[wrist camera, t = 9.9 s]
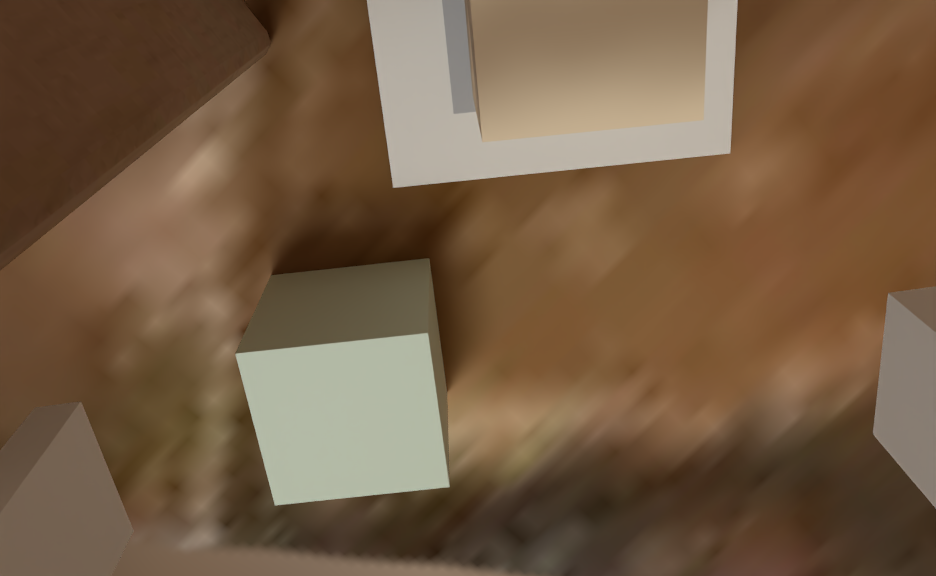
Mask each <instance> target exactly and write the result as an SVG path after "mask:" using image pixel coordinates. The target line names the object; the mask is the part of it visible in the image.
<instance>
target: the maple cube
mask: <svg viewBox="0 0 936 576" xmlns="http://www.w3.org/2000/svg"><path fill="white" fill-rule="evenodd" d="M464 2H465V13H466V24H467V36H468V47H469V58H470V70H471V81H472V92H473V100H474V104H475V109H476V114H477V119H478V124H479V129H480V133H481V138H482V142H491V141H501V140H511V139H521V138H531V137H541V136H551V135H561V134H571V133H581V132H591V131H601V130H611V129H621V128H631V127H641V126H651V125H661V124H671V123H681V122H691V121H701V120H704V97H705V69H706V40H707V12H708V0H464Z"/></svg>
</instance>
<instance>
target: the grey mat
mask: <svg viewBox="0 0 936 576" xmlns="http://www.w3.org/2000/svg"><path fill="white" fill-rule="evenodd" d="M737 2H738V0H708V12H707V40H706V69H705V97H704V120H701V121H691V122H681V123H671V124H661V125H651V126H641V127H631V128H621V129H611V130H601V131H591V132H581V133H571V134H561V135H551V136H541V137H531V138H521V139H511V140H501V141H491V142H482V138H481V133H480V129H479V124H478V119H477V114H476V109H475V104H474V100H473V92H472V81H471V70H470V58H469V47H468V36H467V24H466V13H465V2H464V0H367V5H368V12H369V19H370V26H371V33H372V40H373V47H374V55H375V62H376V69H377V76H378V83H379V90H380V97H381V104H382V111H383V118H384V125H385V132H386V140H387V147H388V154H389V161H390V168H391V175H392V182H393V188H396V187H406V186H416V185H426V184H435V183H445V182H455V181H464V180H474V179H484V178H494V177H503V176H513V175H523V174H533V173H542V172H552V171H562V170H572V169H581V168H591V167H601V166H611V165H620V164H630V163H640V162H650V161H659V160H669V159H679V158H689V157H698V156H708V155H718V154H728V153H730V148H731V128H732V107H733V86H734V65H735V44H736V23H737Z"/></svg>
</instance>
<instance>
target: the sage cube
mask: <svg viewBox="0 0 936 576" xmlns="http://www.w3.org/2000/svg"><path fill="white" fill-rule="evenodd" d="M235 354H236V358H237V362H238V366H239V369H240V373H241V377H242V381H243V385H244V389H245V392H246V396H247V400H248V404H249V408H250V412H251V415H252V419H253V423H254V427H255V431H256V434H257V438H258V442H259V446H260V450H261V454H262V457H263V461H264V465H265V469H266V473H267V477H268V480H269V484H270V488H271V492H272V496H273V499H274V503H275V505H283V504H292V503H302V502H311V501H321V500H330V499H340V498H349V497H359V496H368V495H378V494H387V493H397V492H406V491H416V490H425V489H434V488H444V487H450V485H449V445H448V405H447V387H446V380H445V372H444V365H443V357H442V350H441V342H440V335H439V327H438V320H437V312H436V305H435V297H434V290H433V282H432V275H431V267H430V260H429V258H426V259H417V260H407V261H398V262H389V263H380V264H370V265H361V266H352V267H343V268H333V269H324V270H315V271H306V272H296V273H287V274H278V275H271V277H270V279H269V281H268V283H267V285H266V288H265V290H264V292H263V294H262V296H261V299H260V301H259V303H258V305H257V307H256V310H255V312H254V314H253V316H252V318H251V321H250V323H249V325H248V327H247V329H246V331H245V334H244V336H243V338H242V340H241V342H240V345H239V347H238V349H237V351H236V353H235Z"/></svg>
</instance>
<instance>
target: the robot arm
mask: <svg viewBox="0 0 936 576" xmlns="http://www.w3.org/2000/svg"><path fill="white" fill-rule="evenodd" d="M873 435H874V436H875V437H876V438H877V439H878V441H879V442H880V443H881V444H882V445H883V446H884V448H885V449H886V450H887V451H888V452H889V454H890V455H891V456H892V457H893V458H894V459H895V461H896V462H897V463H898V464H899V465H900V467H901V468H902V469H903V470H904V471H905V472H906V474H907V475H908V476H909V477H910V478H911V480H912V481H913V482H914V483H915V484H916V485H917V487H918V488H919V489H920V490H921V491H922V493H923V494H924V495H925V496H926V497H927V498H928V500H929V501H930V502H931V503H932V504H933V506H934V507H935V508H936V287H929V288H922V289H915V290H907V291H900V292H892V293H888V300H887V309H886V318H885V328H884V337H883V346H882V355H881V365H880V374H879V383H878V392H877V402H876V411H875V420H874V429H873ZM132 533H133V529H132V526H131V524H130V521H129V519H128V516H127V514H126V511H125V509H124V506H123V504H122V502H121V499H120V497H119V494H118V492H117V489H116V487H115V484H114V482H113V479H112V477H111V474H110V472H109V470H108V467H107V465H106V462H105V460H104V457H103V455H102V452H101V450H100V447H99V445H98V442H97V440H96V438H95V435H94V433H93V430H92V428H91V425H90V423H89V420H88V418H87V415H86V413H85V411H84V408H83V406H82V403H81V402H74V403H67V404H59V405H52V406H44V407H37V408H34V409H33V411H32V412H31V413H30V414H29V416H28V417H27V418H26V419H25V420H24V422H23V423H22V424H21V425H20V427H19V428H18V429H17V430H16V432H15V433H14V434H13V435H12V437H11V438H10V439H9V440H8V442H7V443H6V444H5V445H4V447H3V448H2V449H1V450H0V576H112V574H113V572H114V570H115V568H116V566H117V564H118V562H119V560H120V558H121V555H122V553H123V551H124V549H125V547H126V545H127V543H128V541H129V539H130V537H131V535H132Z"/></svg>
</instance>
